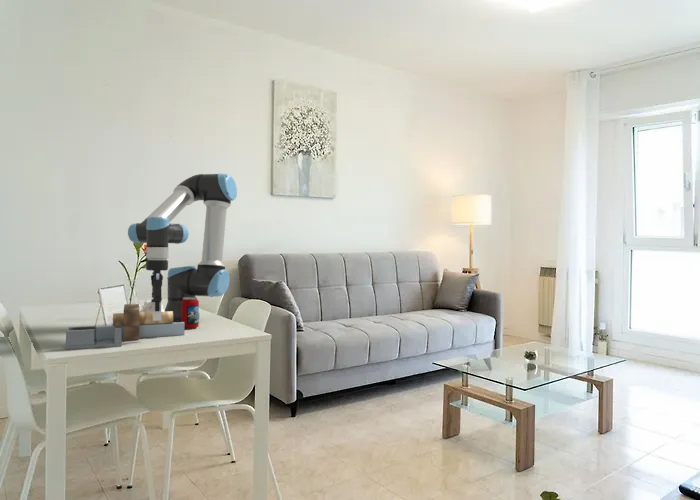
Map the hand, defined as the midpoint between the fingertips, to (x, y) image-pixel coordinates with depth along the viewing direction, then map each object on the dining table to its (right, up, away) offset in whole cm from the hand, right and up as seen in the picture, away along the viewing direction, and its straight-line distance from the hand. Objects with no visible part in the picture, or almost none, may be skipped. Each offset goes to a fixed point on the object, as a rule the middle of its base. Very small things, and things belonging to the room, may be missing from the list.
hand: (156, 317), depth 187 cm
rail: (-5, -7, -2) cm, 8 cm away
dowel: (-4, 0, -1) cm, 4 cm away
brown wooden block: (-9, -7, -1) cm, 11 cm away
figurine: (-7, -6, +15) cm, 18 cm away
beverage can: (+7, -7, +18) cm, 20 cm away
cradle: (-14, -7, -17) cm, 23 cm away
